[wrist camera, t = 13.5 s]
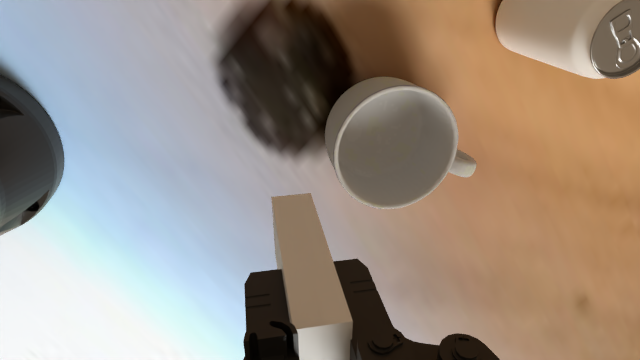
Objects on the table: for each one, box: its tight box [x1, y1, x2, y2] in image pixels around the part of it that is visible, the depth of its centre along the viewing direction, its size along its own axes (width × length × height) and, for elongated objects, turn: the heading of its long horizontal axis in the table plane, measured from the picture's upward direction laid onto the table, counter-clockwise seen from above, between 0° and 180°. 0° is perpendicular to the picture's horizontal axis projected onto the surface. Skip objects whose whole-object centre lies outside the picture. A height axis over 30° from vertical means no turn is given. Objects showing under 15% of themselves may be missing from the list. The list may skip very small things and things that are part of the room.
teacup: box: [325, 77, 476, 209], centre depth 39 cm, size 14×11×8 cm
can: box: [495, 0, 640, 79], centre depth 35 cm, size 6×6×12 cm
